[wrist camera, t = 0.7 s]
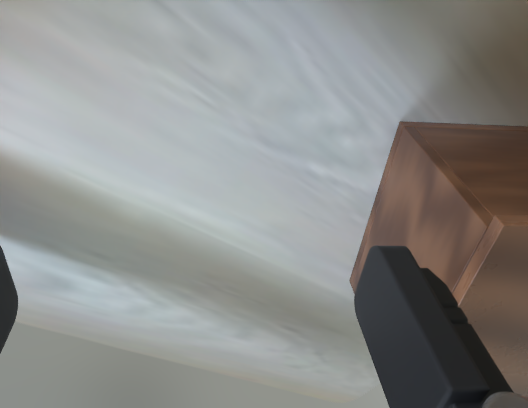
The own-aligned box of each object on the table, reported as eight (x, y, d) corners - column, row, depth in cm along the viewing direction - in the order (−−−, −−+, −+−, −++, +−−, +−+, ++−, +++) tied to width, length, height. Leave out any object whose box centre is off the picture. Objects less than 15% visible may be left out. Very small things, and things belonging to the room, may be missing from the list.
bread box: (399, 121, 30) (487, 226, 21) (566, 127, 32) (714, 227, 23) (349, 280, 40) (393, 400, 31) (479, 278, 42) (557, 390, 33)
